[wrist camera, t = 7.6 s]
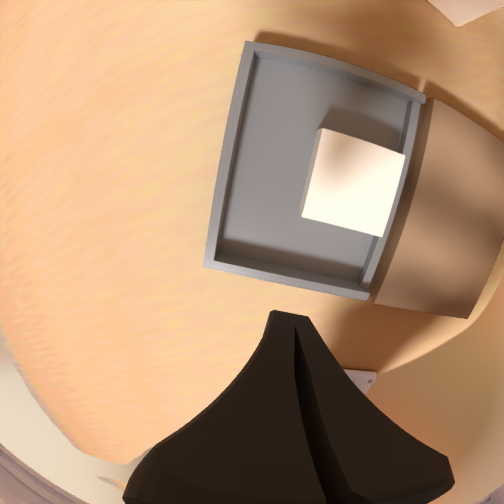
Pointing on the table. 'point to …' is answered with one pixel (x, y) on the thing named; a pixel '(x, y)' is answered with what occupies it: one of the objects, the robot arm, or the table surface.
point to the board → (444, 218)
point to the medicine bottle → (465, 9)
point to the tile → (350, 182)
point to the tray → (300, 167)
